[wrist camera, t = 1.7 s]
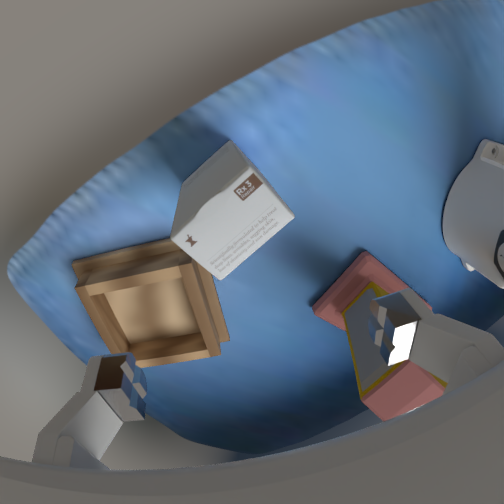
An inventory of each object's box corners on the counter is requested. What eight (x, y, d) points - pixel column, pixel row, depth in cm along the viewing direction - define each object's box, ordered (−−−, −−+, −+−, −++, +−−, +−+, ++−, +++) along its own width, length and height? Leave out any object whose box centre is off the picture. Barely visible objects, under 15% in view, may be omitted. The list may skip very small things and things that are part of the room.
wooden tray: (200, 231, 30) (200, 250, 27) (229, 335, 37) (232, 359, 34) (73, 260, 29) (61, 280, 26) (122, 354, 36) (117, 376, 33)
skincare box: (213, 213, 29) (221, 289, 19) (178, 181, 27) (164, 242, 17) (263, 169, 28) (301, 223, 18) (229, 133, 26) (248, 164, 16)
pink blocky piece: (292, 297, 36) (362, 473, 17) (347, 235, 33) (472, 393, 14) (393, 351, 44) (456, 463, 26) (435, 309, 41) (515, 415, 23)
